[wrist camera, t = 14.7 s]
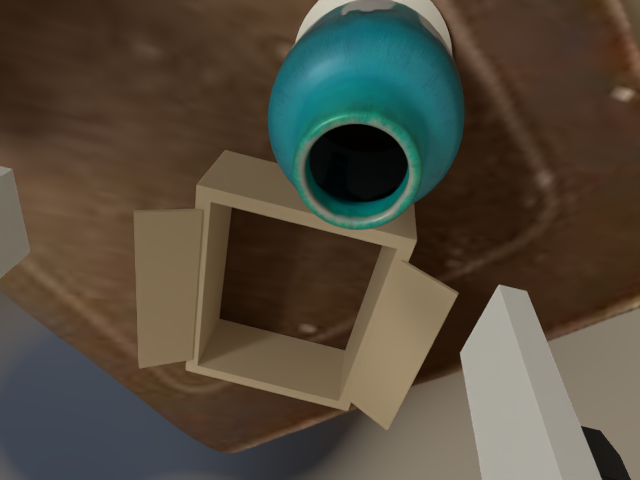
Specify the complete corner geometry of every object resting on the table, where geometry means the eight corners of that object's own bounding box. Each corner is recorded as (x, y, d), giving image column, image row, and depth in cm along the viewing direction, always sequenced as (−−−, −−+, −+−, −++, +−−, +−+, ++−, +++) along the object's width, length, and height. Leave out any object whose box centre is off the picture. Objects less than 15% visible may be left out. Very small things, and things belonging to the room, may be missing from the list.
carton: (176, 315, 53) (138, 381, 45) (183, 139, 40) (131, 187, 32) (384, 367, 53) (382, 443, 45) (455, 208, 40) (470, 273, 32)
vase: (475, 59, 33) (554, 165, 17) (377, 161, 38) (367, 315, 22) (365, -48, 30) (337, -40, 14) (276, 77, 35) (183, 185, 19)
